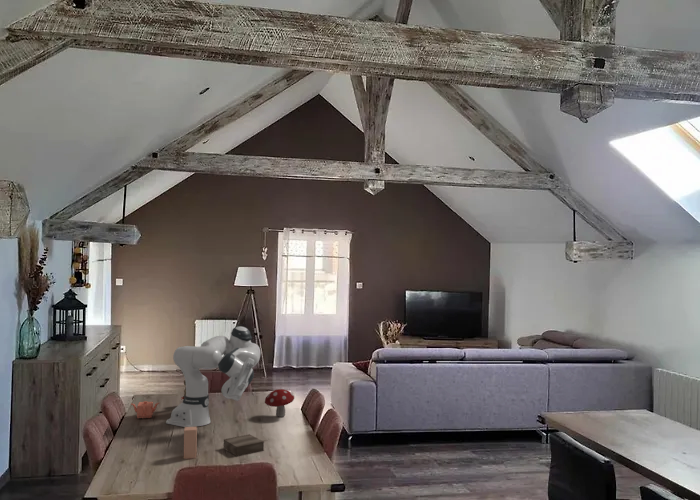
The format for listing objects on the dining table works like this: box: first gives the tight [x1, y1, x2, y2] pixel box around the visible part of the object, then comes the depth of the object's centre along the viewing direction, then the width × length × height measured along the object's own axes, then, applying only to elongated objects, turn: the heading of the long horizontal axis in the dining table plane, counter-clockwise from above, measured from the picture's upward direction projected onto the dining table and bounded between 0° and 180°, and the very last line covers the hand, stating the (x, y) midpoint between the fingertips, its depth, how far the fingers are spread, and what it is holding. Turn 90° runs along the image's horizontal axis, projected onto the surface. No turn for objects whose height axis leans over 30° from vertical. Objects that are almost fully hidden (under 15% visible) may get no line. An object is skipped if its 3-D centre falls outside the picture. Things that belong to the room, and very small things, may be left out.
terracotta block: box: [183, 426, 198, 460], centre depth 256 cm, size 5×5×12 cm
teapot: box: [130, 400, 160, 419], centre depth 316 cm, size 12×15×8 cm
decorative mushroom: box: [264, 388, 295, 417], centre depth 320 cm, size 16×16×15 cm
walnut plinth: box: [223, 433, 265, 457], centre depth 267 cm, size 13×13×4 cm
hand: (248, 373), depth 276 cm, fingers open, 8 cm apart
